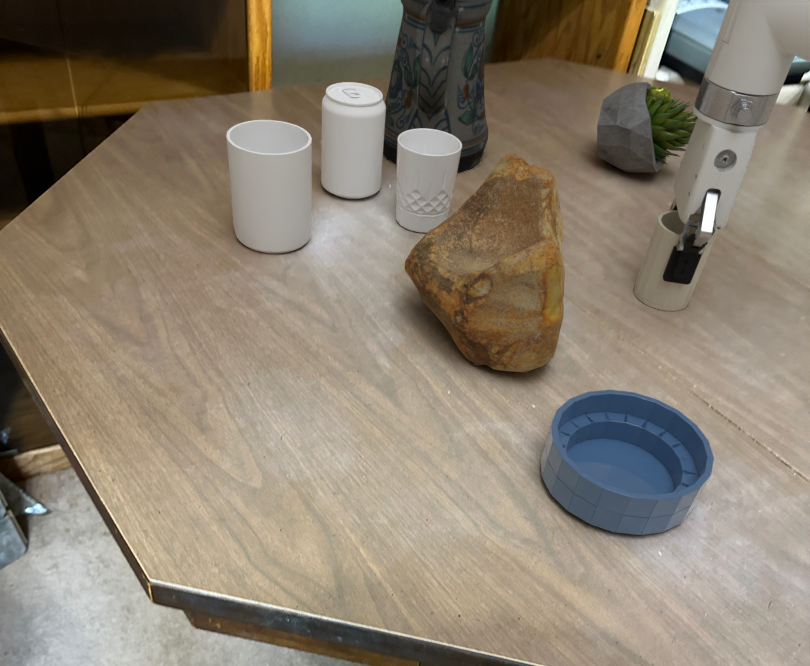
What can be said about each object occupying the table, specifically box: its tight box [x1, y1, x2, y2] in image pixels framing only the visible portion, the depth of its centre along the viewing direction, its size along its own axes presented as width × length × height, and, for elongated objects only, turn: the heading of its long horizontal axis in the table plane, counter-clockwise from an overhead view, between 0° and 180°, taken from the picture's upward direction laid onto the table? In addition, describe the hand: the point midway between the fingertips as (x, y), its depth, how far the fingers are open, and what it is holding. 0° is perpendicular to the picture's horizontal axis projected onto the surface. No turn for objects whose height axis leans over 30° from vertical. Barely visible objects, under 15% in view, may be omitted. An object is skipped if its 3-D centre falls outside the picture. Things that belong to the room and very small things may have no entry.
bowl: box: [539, 389, 715, 536], centre depth 69 cm, size 14×14×5 cm
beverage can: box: [320, 81, 386, 200], centre depth 101 cm, size 8×8×12 cm
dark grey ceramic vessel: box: [383, 0, 494, 174], centre depth 105 cm, size 16×19×25 cm
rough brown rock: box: [404, 152, 566, 373], centre depth 81 cm, size 23×17×15 cm
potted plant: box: [596, 81, 698, 174], centre depth 114 cm, size 12×13×15 cm
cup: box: [633, 210, 720, 312], centre depth 91 cm, size 7×7×9 cm
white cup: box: [395, 128, 462, 234], centre depth 97 cm, size 8×8×10 cm
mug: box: [225, 119, 313, 254], centre depth 91 cm, size 10×12×12 cm
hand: (673, 263), depth 91 cm, fingers closed on cup, 7 cm apart
